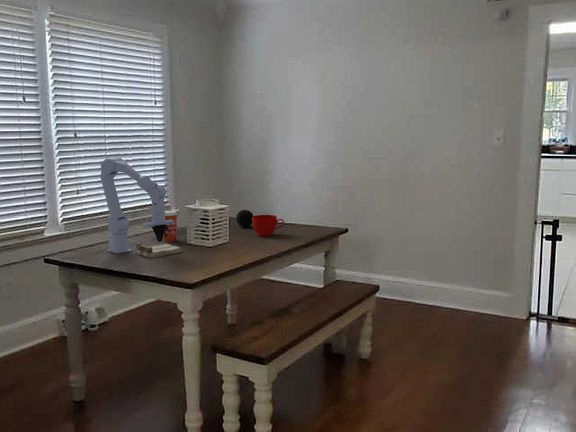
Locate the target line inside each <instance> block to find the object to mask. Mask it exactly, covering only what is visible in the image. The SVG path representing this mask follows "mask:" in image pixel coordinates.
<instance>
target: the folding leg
mask: <svg viewBox="0 0 576 432" xmlns="http://www.w3.org/2000/svg"><path fill="white" fill-rule="evenodd" d="M135 249H139V250H142V251H145V252H148V253H149V252H152V247H150V246H148V245H146V244H142V242H137V243H136V248H135Z"/></svg>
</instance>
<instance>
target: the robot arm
mask: <svg viewBox="0 0 576 432" xmlns="http://www.w3.org/2000/svg"><path fill="white" fill-rule="evenodd" d="M100 169H101V170H100V177H99V178H100V182H101V184H102V190H103V193H104V196H105V201H106V204H107V207H108V211H109V212H108V213H109V215H108V218H107V222H108V223H107V224H108V225H107V228H108V231H109V232H110V233H109V234H108V248H109V249H107V251H108V252H111V253H114V254H122V253H127V252H128V253H129V252H132V251H133V249H130V248H129V240H128V230H129V228H130V221H129V219H128V218H127V216H126V214H125V212H123V211H122V208H121V203H120V199H119V195H118V192H117V188H116V184H115V180H114V179H115V177H116V176H117V174H118V173H124V174H125V175H126V176H128V177H130V178H131V179H132V180H134V181H135V182H136V183H137V186H138V187H139V188H140V189H142V190H143V191H144V192H145V193H147V194H148V196H149V198H150V200H151V215H152V216H151V218H152V219H151V220H152V221H149V222H145V223H143V228H144V229H150V228H151V229H152V231H153V232H154V233H153V234H155V237H156V241H157V243H158V242H159V243H161V242H163V240H164V232H165V230H166V228H167V227H166V226H165V225H169V224H174V220H165V211H166V209H165V196H166V194H167V190H166V188H165V187H164V186H163V185H161V184H160V185H159V183H157V182H155V181H153V180H152V179H151V177H150V176H146V175H141V174H140V173H139V172H138V171H137V170H135V169H134V168H133V167H132V166H131V165H130V164H128V162H127V161H126V160H124V159H123V158H121V157H120V156H119V157H118V156H116V157H111V158H105V159H104V160H102V163H100Z"/></svg>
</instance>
